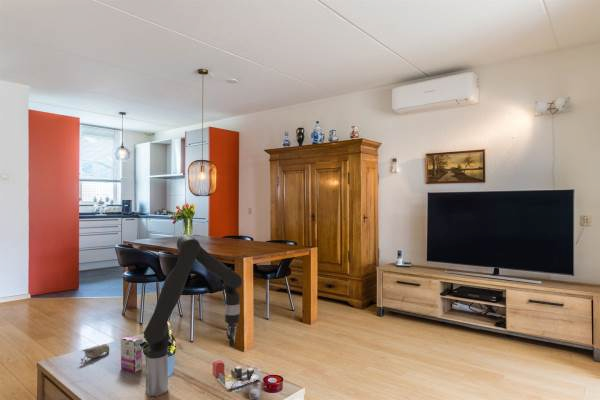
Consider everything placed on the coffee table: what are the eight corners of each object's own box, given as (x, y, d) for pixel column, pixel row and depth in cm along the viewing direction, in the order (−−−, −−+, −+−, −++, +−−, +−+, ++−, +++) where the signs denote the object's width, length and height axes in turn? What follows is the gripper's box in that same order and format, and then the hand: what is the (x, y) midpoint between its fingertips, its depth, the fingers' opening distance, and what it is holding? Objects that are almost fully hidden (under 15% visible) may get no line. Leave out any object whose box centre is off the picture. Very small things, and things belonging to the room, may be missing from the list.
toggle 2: (249, 378, 184) (249, 370, 184) (246, 376, 187) (246, 368, 187) (254, 377, 186) (254, 369, 186) (251, 375, 188) (251, 367, 188)
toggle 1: (237, 376, 187) (237, 369, 187) (234, 374, 189) (234, 366, 189) (241, 375, 188) (241, 367, 188) (239, 373, 190) (239, 365, 190)
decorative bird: (111, 353, 220) (111, 341, 220) (85, 364, 206) (85, 351, 206) (105, 352, 222) (105, 339, 222) (79, 362, 208) (79, 349, 208)
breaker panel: (227, 390, 176) (227, 382, 176) (217, 380, 186) (217, 373, 186) (259, 380, 186) (259, 372, 186) (248, 371, 196) (248, 364, 196)
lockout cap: (216, 377, 189) (216, 364, 189) (212, 374, 193) (212, 361, 193) (224, 374, 192) (224, 362, 192) (220, 371, 196) (220, 359, 196)
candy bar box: (142, 369, 199) (142, 338, 199) (134, 373, 195) (134, 341, 194) (128, 365, 204) (128, 335, 204) (120, 368, 200) (120, 338, 200)
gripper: (236, 316, 186) (235, 351, 186) (242, 308, 199) (242, 341, 199) (221, 316, 187) (220, 350, 187) (228, 308, 200) (228, 340, 200)
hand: (231, 345), depth 193 cm, fingers closed
